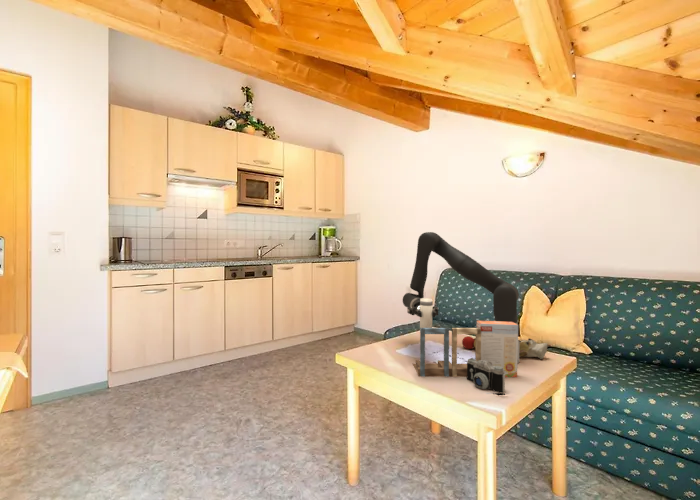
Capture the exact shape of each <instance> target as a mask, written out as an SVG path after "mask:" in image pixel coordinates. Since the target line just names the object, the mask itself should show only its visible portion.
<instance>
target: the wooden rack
mask: <svg viewBox="0 0 700 500" xmlns="http://www.w3.org/2000/svg"><path fill="white" fill-rule="evenodd" d="M426 335H443V360H437V363H426V356H425V355H426ZM458 335H475V338H476V348H475V347H474V350H475V357H474V359H475V360H476V361H478V360H481V329H480V328H477V327H451V361H450V328H449V327H432V328H420V327H419V360H415V363H412V366H413V368H414V371H416V374H417V375H418V376H417V377H419V378H420V377H423V378H425V377H427V378H432V377H435V378H443V377H444V378H445V377H446V378H451V377H453V378H454V377H455V378H467V363H458Z"/></svg>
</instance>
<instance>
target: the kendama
mask: <svg viewBox="0 0 700 500" xmlns="http://www.w3.org/2000/svg"><path fill="white" fill-rule="evenodd" d="M461 343H462V347H463V348H465V349H467V350H472V349H473V350H474V349H475V348H476V337H474V338H473V337H472V336H470V335H469V336H467V335H466V336H465V337H463V338H462V340H461Z"/></svg>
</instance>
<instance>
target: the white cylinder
mask: <svg viewBox="0 0 700 500" xmlns="http://www.w3.org/2000/svg"><path fill="white" fill-rule="evenodd" d="M432 309H433V298H430V297H424V298H421V299H420V311H421V312H422V317H419V329H420V328H433V316H432Z"/></svg>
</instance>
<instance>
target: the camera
mask: <svg viewBox="0 0 700 500" xmlns="http://www.w3.org/2000/svg"><path fill="white" fill-rule="evenodd" d="M466 364H467V377H466V380H467V381H470V382H472V383H474V386H475V387H476V388H477V389H482V390H491V391H493V393H492V394H493V395H496V396H504V395H505V394H506V392H505V391H506V389H505V388H506V387H505V386H506V377H505V373H504V369H503V367H500V366H494V365H493V364H492V362H490V361H487V360H478V361H476V360H475V358H473V357H471V358H468V359H467V361H466Z"/></svg>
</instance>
